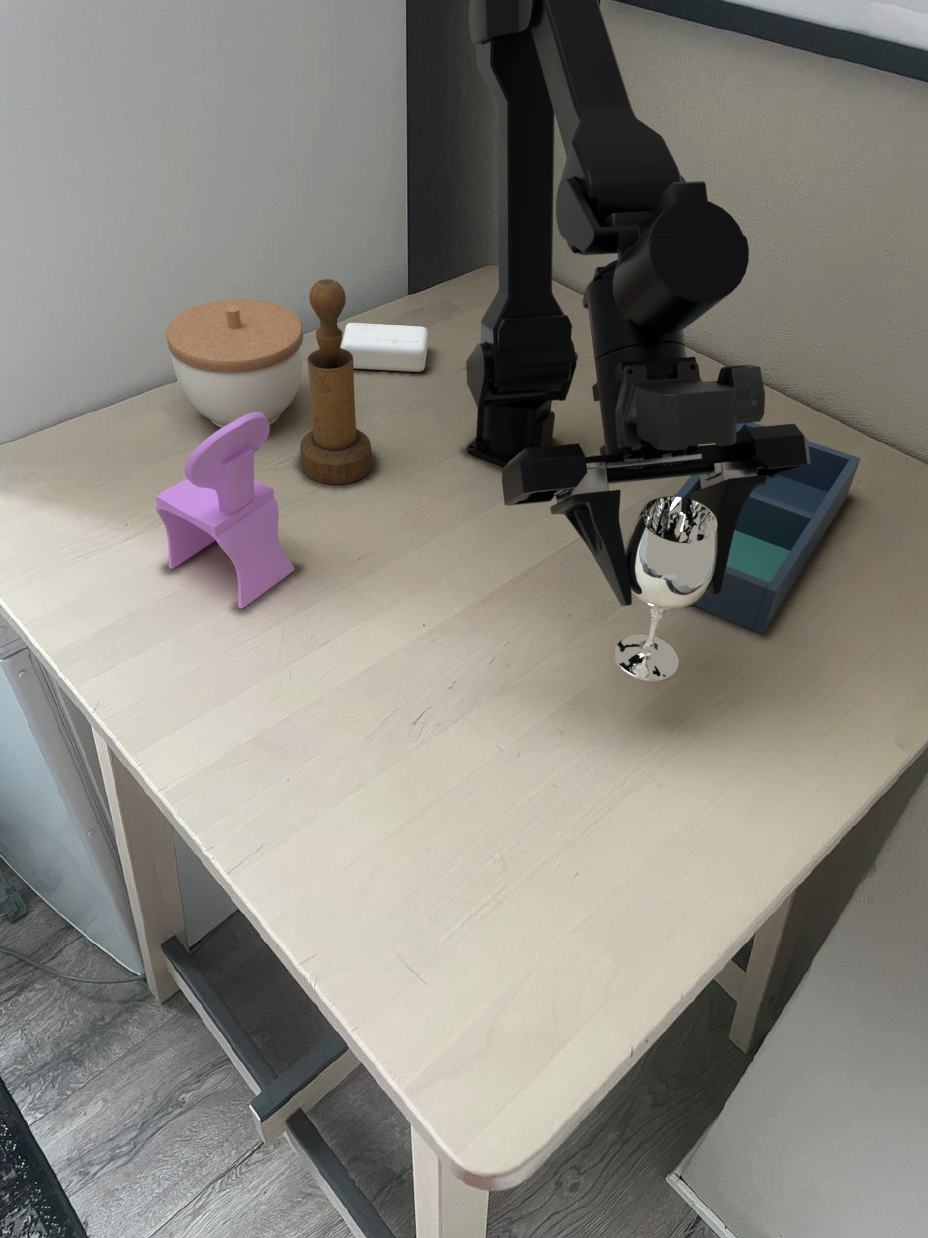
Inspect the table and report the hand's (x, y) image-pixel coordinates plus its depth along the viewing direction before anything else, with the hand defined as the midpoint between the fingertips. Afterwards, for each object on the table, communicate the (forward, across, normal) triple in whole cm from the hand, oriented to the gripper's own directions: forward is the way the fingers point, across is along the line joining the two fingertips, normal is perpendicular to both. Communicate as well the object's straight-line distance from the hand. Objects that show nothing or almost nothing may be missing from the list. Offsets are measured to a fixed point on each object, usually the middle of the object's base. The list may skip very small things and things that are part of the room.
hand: (670, 600), depth 65 cm
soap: (-30, -9, +49) cm, 58 cm away
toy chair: (-7, -28, +26) cm, 38 cm away
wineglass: (+4, 0, +6) cm, 7 cm away
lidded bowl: (-24, -25, +43) cm, 55 cm away
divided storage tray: (-5, +17, +23) cm, 29 cm away
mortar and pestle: (-16, -17, +35) cm, 43 cm away
